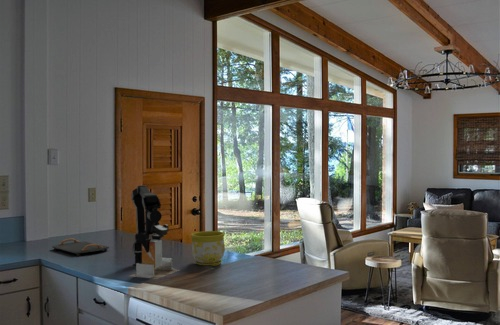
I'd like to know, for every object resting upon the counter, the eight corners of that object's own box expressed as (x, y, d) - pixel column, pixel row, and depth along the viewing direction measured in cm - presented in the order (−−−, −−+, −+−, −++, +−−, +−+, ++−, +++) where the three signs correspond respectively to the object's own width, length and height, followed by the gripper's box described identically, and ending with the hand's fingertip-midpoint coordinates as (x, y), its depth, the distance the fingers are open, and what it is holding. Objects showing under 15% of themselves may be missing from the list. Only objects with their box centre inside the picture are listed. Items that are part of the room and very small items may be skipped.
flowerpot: (188, 262, 288) (187, 232, 287) (219, 259, 294) (218, 230, 294) (196, 269, 271) (195, 237, 271) (229, 265, 277) (229, 234, 277)
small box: (141, 267, 261) (141, 240, 261) (149, 264, 267) (148, 238, 267) (155, 268, 258) (155, 241, 258) (162, 265, 264) (162, 239, 263)
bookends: (159, 267, 273) (158, 256, 273) (175, 269, 268) (174, 257, 268) (134, 276, 255) (133, 264, 255) (150, 278, 251) (150, 265, 251)
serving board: (112, 252, 325) (112, 242, 325) (77, 258, 309) (76, 247, 309) (82, 245, 353) (82, 235, 353) (48, 250, 337) (48, 240, 336)
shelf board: (153, 268, 275) (153, 267, 275) (180, 271, 267) (180, 270, 267) (128, 277, 257) (128, 275, 257) (156, 280, 249) (156, 279, 249)
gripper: (152, 223, 250) (153, 256, 250) (175, 218, 266) (176, 248, 267) (133, 222, 255) (134, 254, 255) (157, 217, 271) (158, 247, 272)
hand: (151, 251), depth 262 cm, fingers closed on small box, 6 cm apart
